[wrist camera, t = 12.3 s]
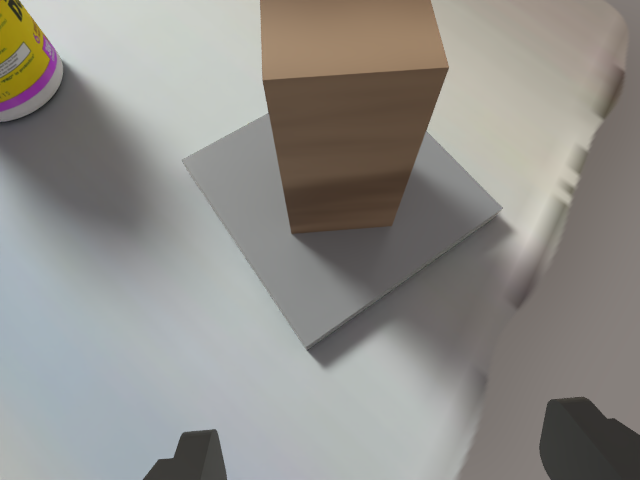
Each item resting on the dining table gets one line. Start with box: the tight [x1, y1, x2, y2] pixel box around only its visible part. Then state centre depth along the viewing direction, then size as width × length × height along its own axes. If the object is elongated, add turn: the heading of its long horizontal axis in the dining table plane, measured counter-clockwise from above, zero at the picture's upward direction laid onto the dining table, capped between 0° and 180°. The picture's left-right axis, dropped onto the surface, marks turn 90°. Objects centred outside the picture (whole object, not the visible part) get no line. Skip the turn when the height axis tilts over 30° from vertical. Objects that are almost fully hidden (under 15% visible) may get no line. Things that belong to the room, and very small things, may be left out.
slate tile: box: [182, 113, 503, 350], centre depth 21 cm, size 12×12×1 cm
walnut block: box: [260, 0, 449, 234], centre depth 16 cm, size 5×5×10 cm
